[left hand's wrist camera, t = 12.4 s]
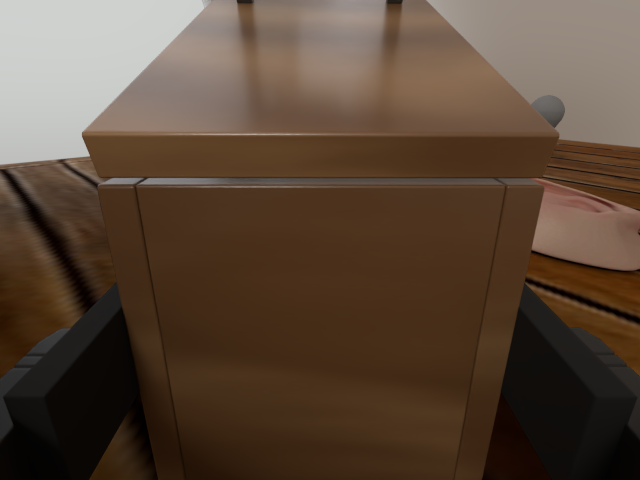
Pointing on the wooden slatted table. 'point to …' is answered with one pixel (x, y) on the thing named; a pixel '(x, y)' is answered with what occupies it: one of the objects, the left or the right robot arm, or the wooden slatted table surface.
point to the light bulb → (550, 109)
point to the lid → (320, 100)
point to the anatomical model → (587, 229)
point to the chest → (320, 320)
